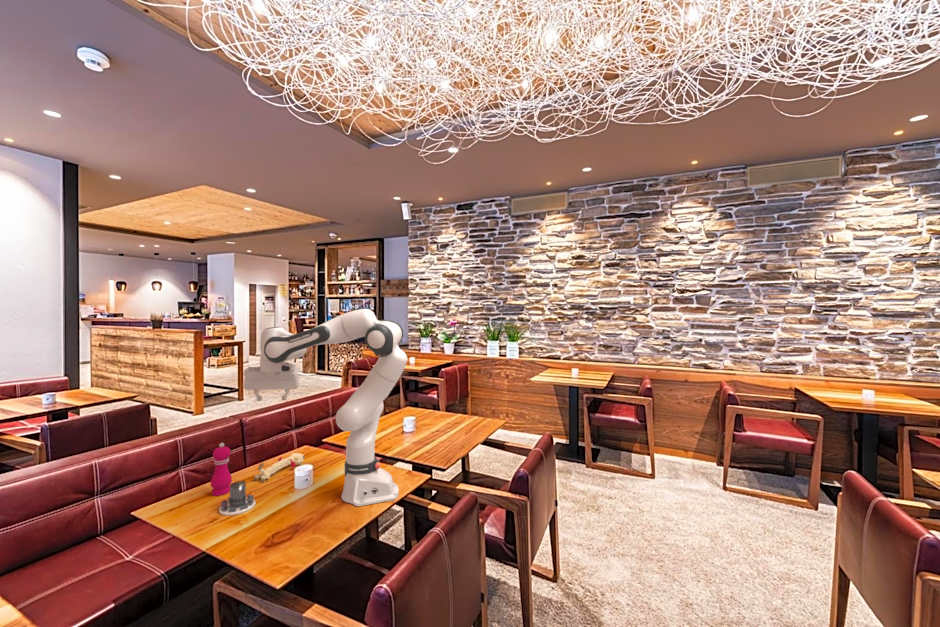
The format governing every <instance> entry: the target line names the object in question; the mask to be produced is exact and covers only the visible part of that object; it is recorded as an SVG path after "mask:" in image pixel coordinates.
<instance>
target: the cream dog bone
mask: <svg viewBox="0 0 940 627" xmlns="http://www.w3.org/2000/svg"><path fill="white" fill-rule="evenodd" d="M304 459H305V454H303V453H298V452H294V453H292V454H290V455H289V456H288V457H285V458H283V456H280V457H279V458H278V461H277V462H275V463H273V464H272V465H270V466H268V467H267V468H265V469H264V468H263V467H264V466H265V463H264V462H260V463H259V465H258V468H257V471H258V472H259V474H254V477H253V480H254V481H255V482H258V481H260V483H265V482H266V480H269V479H270V478H271V476H272V475H273V474H276V472H278V471H280V470H281V469H283V468H286V467H287V466H289V465H290V466H291V467H290V471H292V470H294V468H295V467H296V466H298V465H299V466H300V465H302V464H303V463H304Z"/></svg>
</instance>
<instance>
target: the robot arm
mask: <svg viewBox="0 0 940 627" xmlns="http://www.w3.org/2000/svg"><path fill="white" fill-rule="evenodd" d="M363 337H364V343H365V345H366V347H367V348H368V349H369V350H370V351H372V352H373V354H374V355H375V356H376V357H378V358H377V361H376V362H375V363H374V364H373V366H372V368H371V370H370V371H369V373H368V375H367V376H366V378H364V381H363V382H362V383H361V384H360V386H359V387H358V388H357V389H356V390H355V391H354V392H353V393H352V395H351V396H350V397H349V398H348V399H347V400H346V402H345V403H344V404H343V405H342V406H341V407H340V408H339V409H338V410H337V411H336V414H335V423H336V425H337V427H338V428H339V429H340V430H342V431H344V432H350V433H349V435H348V437H347V439H346V442H345V446H346V447H345V461H344V468H343V469H344V482H343V483H344V484H343V489H342V492H341V500H342V501H343V502H345V503H349V504H352V505H353V506H355V507H362V506H368V505H373V504H379V503H383V502H391V501H394V500H396V499H397V498H398V497H399V493H400V490H399V489H400V488H399V486H398V485H397V483H395V482H394V480H393V476H392V475H391V473H390V472H389V471H387V470H385V469H383V468H382V467H381V463H380V458H379V457H377V458H376V457H375V456H376V455H375V454H376V453H375V451H376V450H375V449H376V446H375V445H376V436H377V431H378V426H379V421H380V417H381V415H382V413H383V411H384V406H385V405H384V402H383V401H385V399H387V398H388V396H389V395H390V393H391V392H392V390H393V389H394V387H395V386H396V384H397V383H398V381H399V379H400V378H401V376H402V374H403V372H404V370H405V368H406V366H407V363H408V356H407V354H406V352H405V351H404V350H402V348H400V346H399V344H400V343H401V342H402V340H403V337H404V330H403V327H402V326H401V325H400V324H399V323H398V322H396V321H393V320H389V319H388V320H387V319H379V320H378V319H377V316H376V315H375V313H374V312H373V311H372V310H370V309H369V308H362V309H361V308H360V309H357V310H352V311H348V312H345V313H342V314H340V315H337V316H336V317H333V318H330V319H329V320H327V321H325V322H322V323H321V324H319V325H317V326H315V327H313V328H310V329H307V330H304V331H301V332H298V333H294V334H293V333H291V332H289V331H287V330H285V329H284V327H282V326H273V327H267V328H265V329H262V331H261V333H260V342H259V344H260V345H259V349H260V354H261V355H260V358H259V366H248V367H247V368H245V369H244V372H243V375H244V380H243V389H244V390H245V391H253V394H254V396H255V398H256V402H261V401H262V400H263V396H262V395H260V393H259V392H260V391H268V390H269V391H270V390H271V391H272V390H273V391H275V390H284V392H285V393H284V395H281V401H287V398H288V397H287V396H288V395H289V393H290V390H296V389H297V388H298V387H299V386H300V376H299V373H298V371H297V370H296V369H297V365H296V364H295V363H291V362H287V361H289V360H290V361H291V360H295V359H300V358H302V357H303V356H304V355H306V353H307V352H308V348H311V347H314V346H320V345H333V344H342V343H348V342H351V341H355V340H357V339H359V338H363Z"/></svg>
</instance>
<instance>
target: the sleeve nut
mask: <svg viewBox="0 0 940 627" xmlns="http://www.w3.org/2000/svg"><path fill="white" fill-rule="evenodd" d="M246 486H247V484H246V481H245V480H238V481H237V480H236V481H235V482H231V483H230V492H229V497H230V506H236V505H237V508H240V504H243V503H246V498H247V493H246V490H247V489H246Z"/></svg>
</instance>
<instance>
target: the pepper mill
mask: <svg viewBox="0 0 940 627" xmlns="http://www.w3.org/2000/svg"><path fill="white" fill-rule="evenodd" d="M229 456H231V449H230V447H228V446H225V443H224V442H220V443H219V445H218V447H216V448H214V450H213V453H212V457H213V459H214V460H213V461H214V463H213V465H214V466H215V468H214V473H213V475H212V476H211V477H212V478H211V480H210V486H211V488H212V490H211V495H212V496H213V497H221V496H224V495H226V494H228V493H229V494H230V485H231V484H232V483H233V482H232V481H233V478H232V474H231V473H230V471H229V467H228V466H229V465H228V464H229V462H230V457H229Z"/></svg>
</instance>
